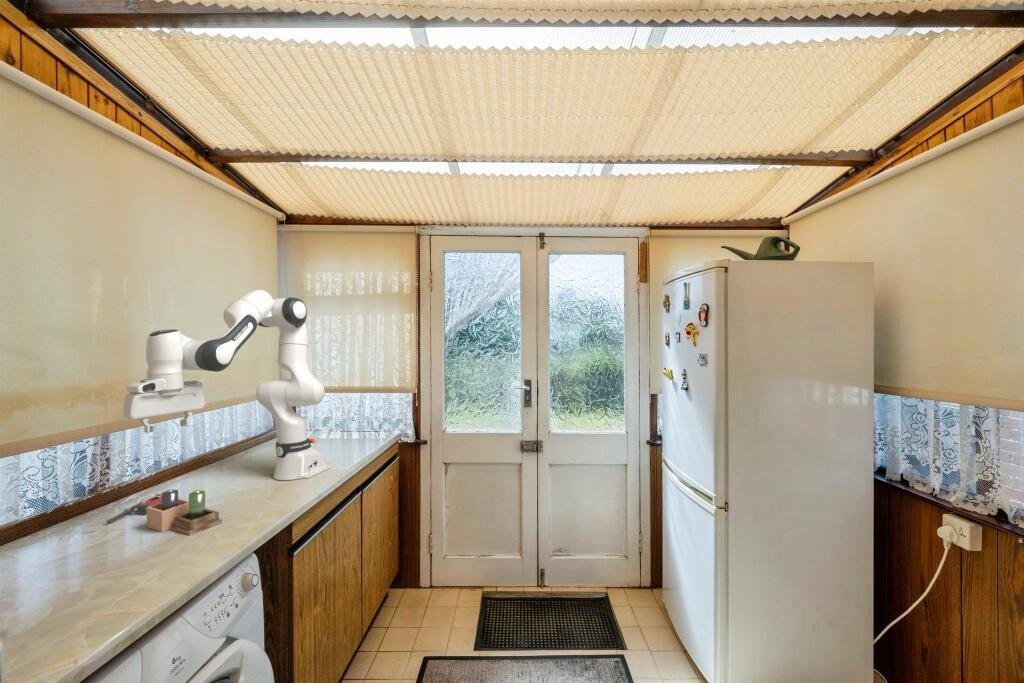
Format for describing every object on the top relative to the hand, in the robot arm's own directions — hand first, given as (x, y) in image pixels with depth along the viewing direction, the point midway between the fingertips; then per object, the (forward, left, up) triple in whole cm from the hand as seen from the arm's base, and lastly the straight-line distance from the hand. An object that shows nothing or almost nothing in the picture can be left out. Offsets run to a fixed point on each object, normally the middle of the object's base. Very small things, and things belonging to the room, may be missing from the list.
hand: (167, 428), depth 134 cm
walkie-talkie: (-2, -19, -30) cm, 35 cm away
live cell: (-3, +9, -28) cm, 30 cm away
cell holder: (-3, +9, -29) cm, 31 cm away
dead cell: (0, 0, -28) cm, 28 cm away
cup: (0, 0, -29) cm, 29 cm away
